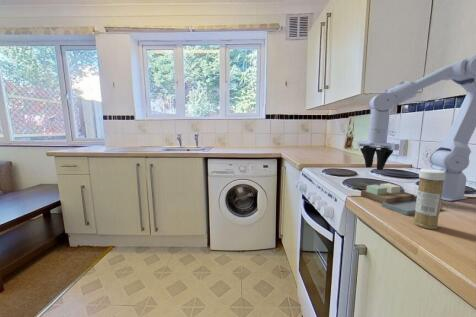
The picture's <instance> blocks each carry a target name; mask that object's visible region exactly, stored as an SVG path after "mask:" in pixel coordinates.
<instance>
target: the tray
mask: <svg viewBox="0 0 476 317" xmlns="http://www.w3.org/2000/svg"><path fill="white" fill-rule="evenodd" d="M416 200H417V197H414V200H412V201H405V202H398V203H391V204H388V203H385V202H382V204H381V207H383V208H386V209H389V210H391V211H394V212H397V213H399V214H401V215H405V216H411V215H415V208H416ZM442 209H443V205H441V206H440V210H442Z"/></svg>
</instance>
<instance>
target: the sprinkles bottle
mask: <svg viewBox="0 0 476 317" xmlns="http://www.w3.org/2000/svg"><path fill="white" fill-rule="evenodd" d="M418 173H419V174H418V177H419V180H418V188H417V194H416V198H417V200H416V208H415V214H414V218H413V224H414V225H416V226H418V227H421V228H422V229H429V230H435V229H438V228H439V227H438V226H439V225H438V223H439V216H440V206H441V204H442V199H441V196H442V188H443V182H444V180H445V174H446V173H445V172H444V171H440V170H434V169H432V168H420V169H419V172H418Z"/></svg>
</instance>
